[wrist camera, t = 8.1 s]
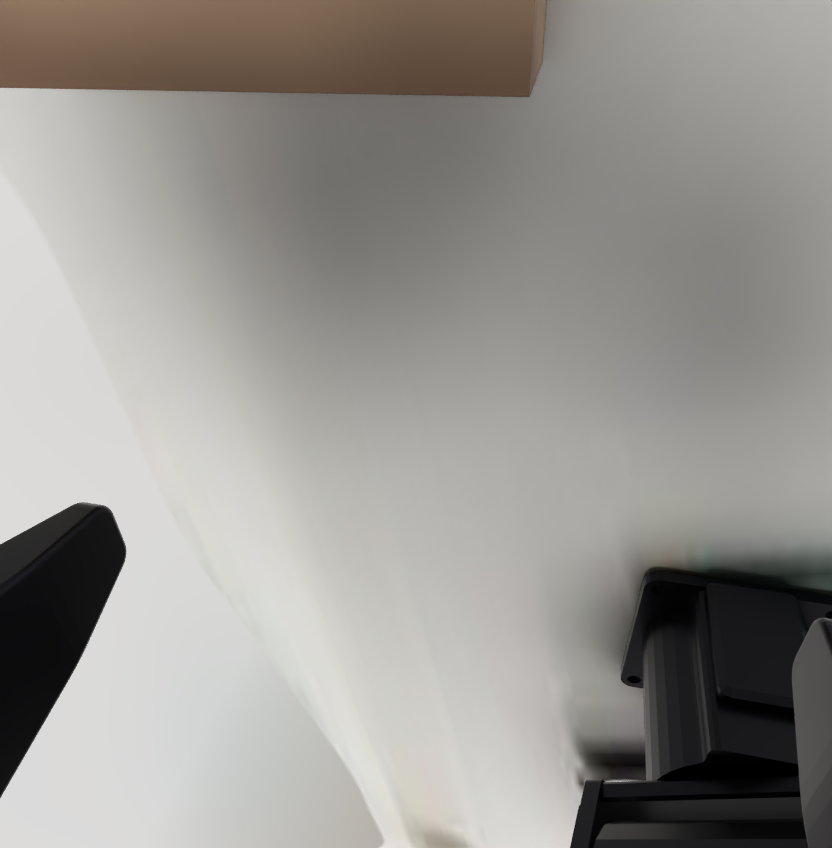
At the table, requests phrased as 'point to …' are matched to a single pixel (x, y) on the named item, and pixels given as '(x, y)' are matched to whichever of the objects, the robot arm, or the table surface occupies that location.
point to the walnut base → (275, 46)
